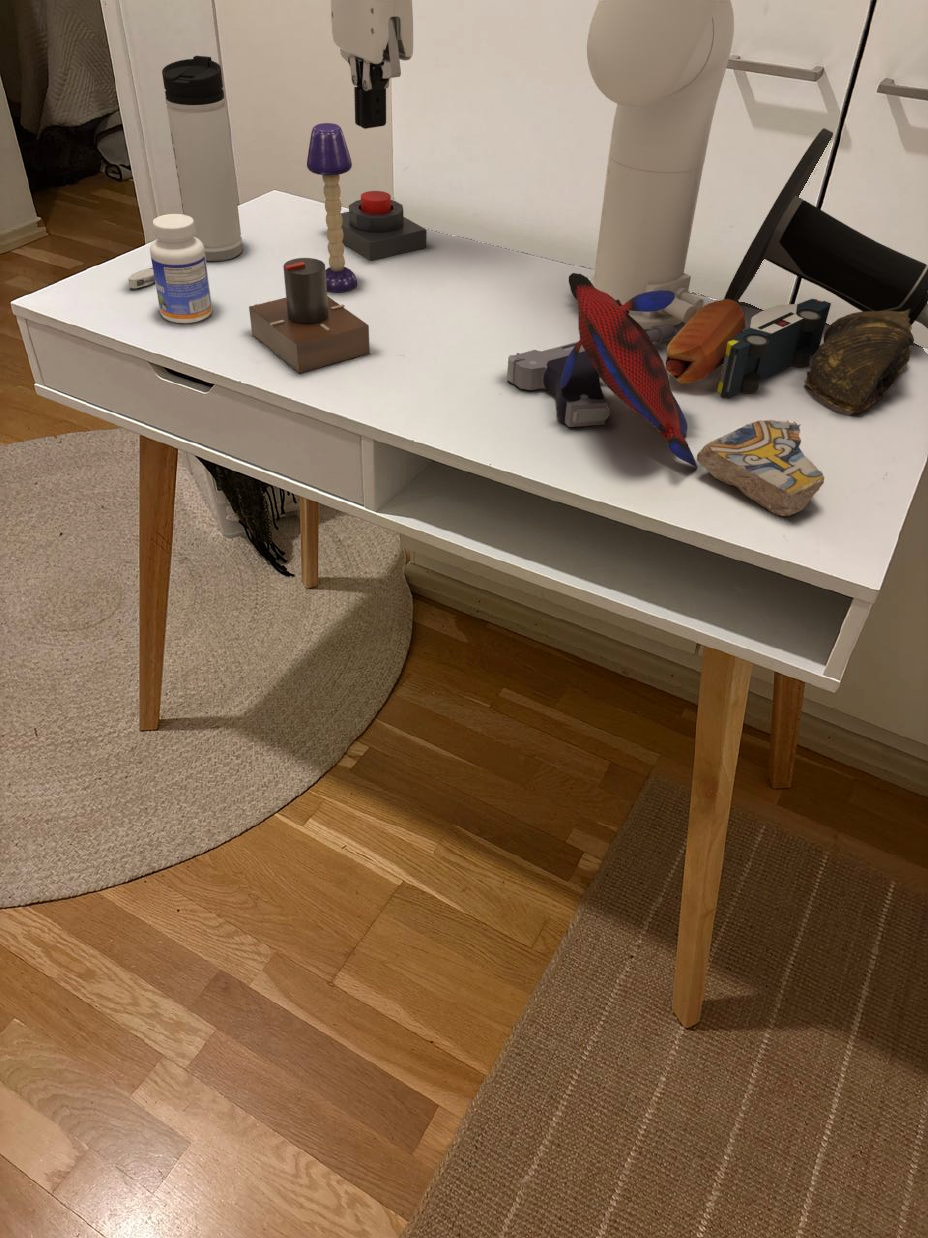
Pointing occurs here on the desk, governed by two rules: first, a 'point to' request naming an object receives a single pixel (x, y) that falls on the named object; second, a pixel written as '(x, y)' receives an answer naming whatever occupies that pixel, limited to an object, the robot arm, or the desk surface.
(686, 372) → the hot dog
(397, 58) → the robot arm
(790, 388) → the desk surface
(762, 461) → the ceramic tile fragment
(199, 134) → the travel mug
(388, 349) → the desk surface
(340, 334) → the dimmer panel
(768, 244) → the black flanged spool
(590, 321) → the fish
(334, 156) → the toy lamp
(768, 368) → the toy car
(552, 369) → the handgun
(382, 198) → the button
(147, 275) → the oval pebble
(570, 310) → the desk surface
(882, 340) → the seashell
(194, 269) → the pill bottle
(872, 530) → the desk surface
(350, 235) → the switch block
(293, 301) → the dimmer knob
